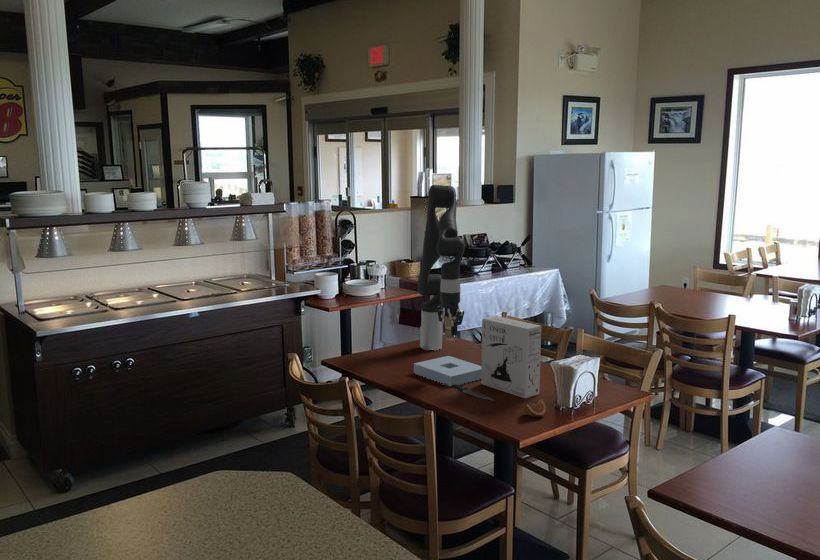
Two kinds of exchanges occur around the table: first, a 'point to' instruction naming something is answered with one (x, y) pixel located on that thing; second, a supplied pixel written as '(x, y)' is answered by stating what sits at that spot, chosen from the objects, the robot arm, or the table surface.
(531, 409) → the fruit slice
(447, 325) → the peg
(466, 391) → the knife
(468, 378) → the board
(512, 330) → the cereal box
